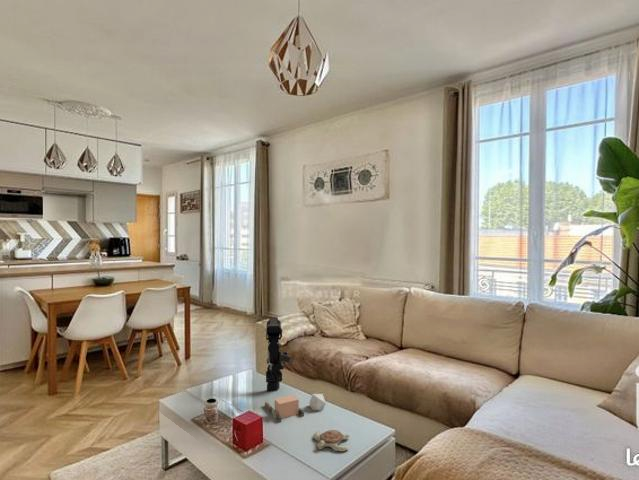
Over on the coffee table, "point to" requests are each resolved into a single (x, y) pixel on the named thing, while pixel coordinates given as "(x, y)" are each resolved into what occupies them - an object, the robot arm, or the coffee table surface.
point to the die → (317, 402)
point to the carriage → (287, 406)
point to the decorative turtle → (331, 440)
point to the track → (277, 413)
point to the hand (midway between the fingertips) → (275, 380)
